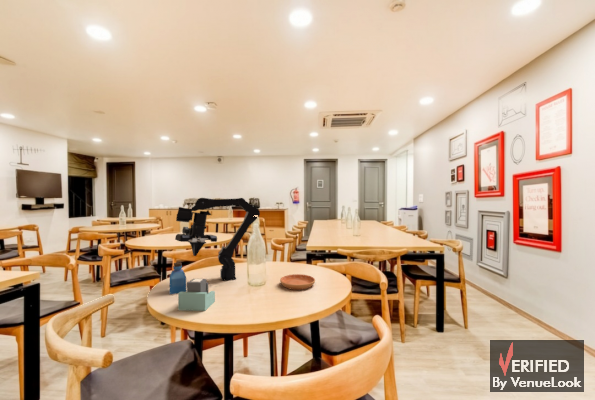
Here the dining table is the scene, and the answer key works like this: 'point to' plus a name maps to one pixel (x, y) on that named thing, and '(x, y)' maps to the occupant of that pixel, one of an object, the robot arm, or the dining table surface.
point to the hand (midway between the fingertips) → (194, 255)
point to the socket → (195, 300)
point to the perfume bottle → (177, 279)
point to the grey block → (197, 285)
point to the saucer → (297, 281)
